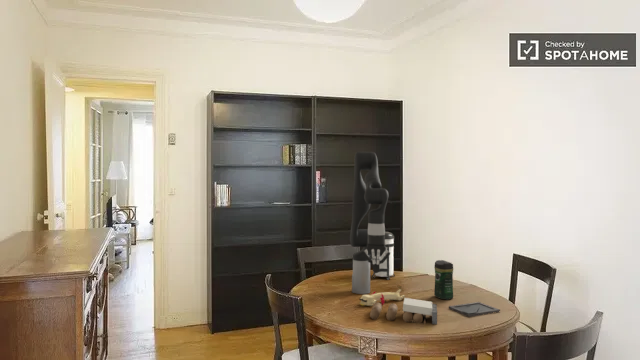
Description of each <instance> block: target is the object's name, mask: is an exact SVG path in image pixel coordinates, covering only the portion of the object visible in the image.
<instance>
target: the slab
mask: <svg viewBox="0 0 640 360" xmlns="http://www.w3.org/2000/svg"><path fill="white" fill-rule="evenodd" d="M432 304H433V301H430V300H429V301H428V300H424V299H423V300H421V299H414V298H410V297H405V298H404V301H403V305H402V312H404V311H406V312H412V313H419V314H423V315H424V314H425V315H426V316H431V317H432Z"/></svg>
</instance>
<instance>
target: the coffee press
mask: <svg viewBox="0 0 640 360" xmlns="http://www.w3.org/2000/svg"><path fill="white" fill-rule="evenodd" d="M394 241H395V235H394V234H393V233H392V232H389V231H385V247H386V250H387V251H389V252H390V255H389V256H388V257H387V259H386V260H385V261H384V262H383V263H381V264H380V270H379V272H378V273H374V271H373V270H372V272H373V273H372V275H371V279H375V278H377V277H380V278H386V280H387V281H390V280H391V277H393V278H395V276H396V274H395V273H394V248H395V247H394V246H395V242H394ZM384 256H385V252H384V253H383V254H382V256H380V260H382V259H383V258H384ZM376 263H377V256H376ZM373 277H374V278H373Z"/></svg>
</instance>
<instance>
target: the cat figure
mask: <svg viewBox="0 0 640 360" xmlns="http://www.w3.org/2000/svg"><path fill="white" fill-rule="evenodd" d="M397 288H398V289H397V290H396V291H395V292H390V291H389V292H378V293H376V292H377V290H374V292H372V293H371V294H361V297H359V302H358V303H359V304H360V306H370V307H371V306H372V307H373V305H374V304H375V303H377V301H379V302H380V304H381V305H382V306H383V305H385V304H386V303H385V300H390V301H391V300H392V301H393V300H394V301H403V302H404V298H406V296H405V294H401V293H400V292H402V291H403V287H402V284H397Z"/></svg>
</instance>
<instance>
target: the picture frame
mask: <svg viewBox="0 0 640 360" xmlns="http://www.w3.org/2000/svg"><path fill="white" fill-rule="evenodd" d="M448 310H452V311H453V312H456V313H458V314H461V315H463V316H465V317H467V318H470V317H476V316H477V317H478V316H482V315H483V314H484V315H488V313H490V314H494V313H493V312H496V313H500V312H501V309H499V308H497V307H494V306H492V305H489V304H485V303H482V302H481V301H475V302H469V303H462V304H454V305H449V306H448ZM499 311H500V312H499ZM484 315H483V316H484Z"/></svg>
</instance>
